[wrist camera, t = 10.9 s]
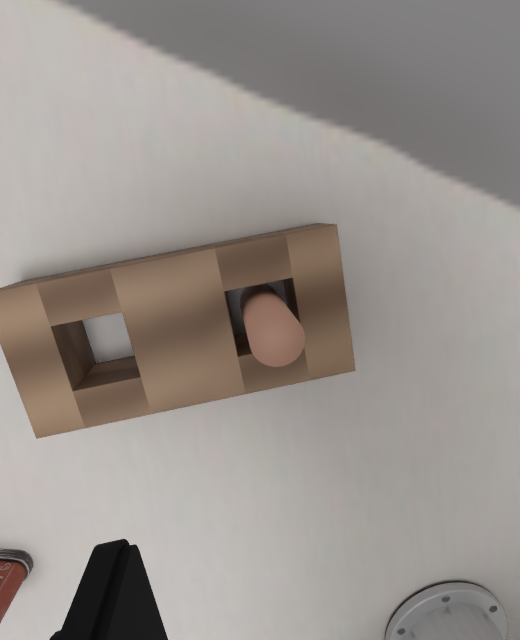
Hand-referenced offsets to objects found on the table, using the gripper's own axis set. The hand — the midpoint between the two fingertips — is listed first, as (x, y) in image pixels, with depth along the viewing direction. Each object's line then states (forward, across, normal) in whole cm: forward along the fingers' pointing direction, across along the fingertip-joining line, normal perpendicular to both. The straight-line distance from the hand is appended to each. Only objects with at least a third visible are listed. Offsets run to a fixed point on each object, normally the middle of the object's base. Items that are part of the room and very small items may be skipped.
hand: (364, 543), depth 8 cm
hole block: (+23, +6, -1) cm, 24 cm away
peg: (+23, 0, -1) cm, 23 cm away
